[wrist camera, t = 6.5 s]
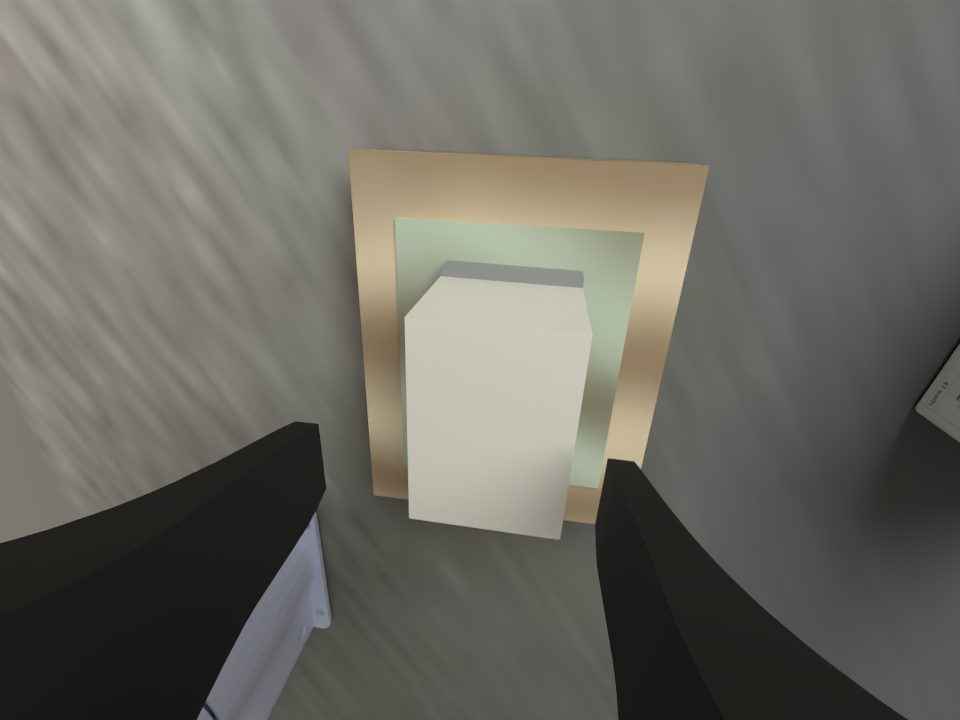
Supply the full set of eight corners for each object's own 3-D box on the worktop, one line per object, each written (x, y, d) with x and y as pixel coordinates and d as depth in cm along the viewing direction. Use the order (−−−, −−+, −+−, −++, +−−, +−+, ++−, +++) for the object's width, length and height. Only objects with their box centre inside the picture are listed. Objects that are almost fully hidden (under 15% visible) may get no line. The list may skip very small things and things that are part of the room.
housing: (557, 448, 18) (558, 547, 14) (444, 434, 19) (409, 525, 14) (582, 271, 15) (594, 322, 11) (447, 259, 16) (404, 305, 11)
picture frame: (618, 481, 22) (627, 531, 19) (394, 455, 23) (372, 497, 21) (683, 162, 16) (710, 166, 13) (379, 149, 18) (346, 149, 15)
